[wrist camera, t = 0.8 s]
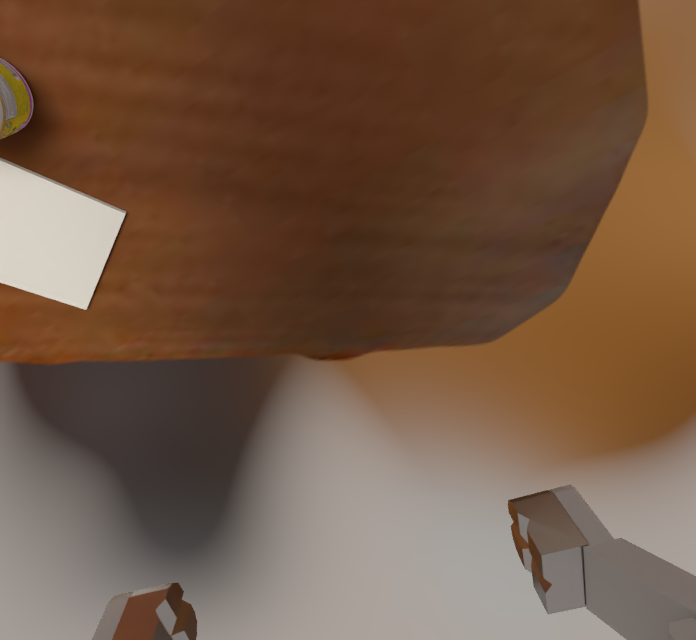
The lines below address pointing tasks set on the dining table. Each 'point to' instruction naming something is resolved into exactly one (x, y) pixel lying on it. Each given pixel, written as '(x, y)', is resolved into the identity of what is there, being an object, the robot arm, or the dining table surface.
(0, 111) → the supplement bottle
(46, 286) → the off-white mat
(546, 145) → the dining table surface
